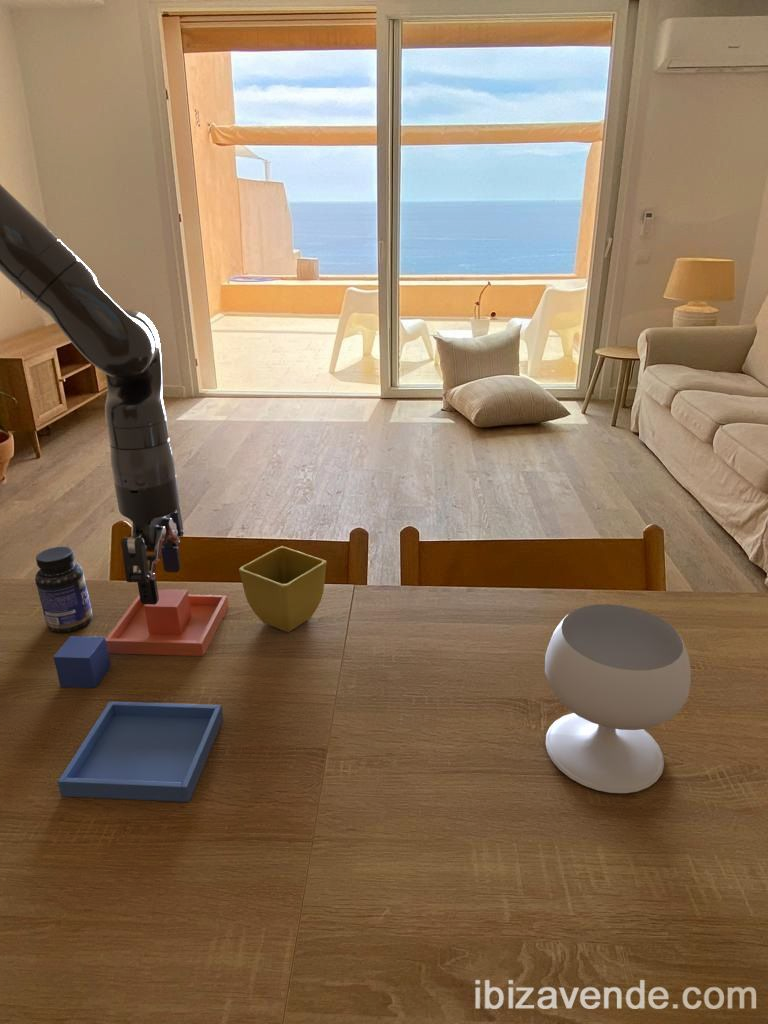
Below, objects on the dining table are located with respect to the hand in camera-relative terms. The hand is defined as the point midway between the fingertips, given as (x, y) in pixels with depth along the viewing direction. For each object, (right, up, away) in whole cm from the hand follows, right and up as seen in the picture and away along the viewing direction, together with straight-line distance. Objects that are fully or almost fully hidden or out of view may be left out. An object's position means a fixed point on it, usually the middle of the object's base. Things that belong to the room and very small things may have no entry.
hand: (161, 586), depth 94 cm
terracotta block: (0, -6, +3) cm, 6 cm away
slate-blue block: (-7, -11, -7) cm, 15 cm away
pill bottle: (-15, -6, +5) cm, 16 cm away
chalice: (+54, -16, -20) cm, 59 cm away
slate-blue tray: (+5, -16, -19) cm, 26 cm away
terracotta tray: (0, -6, +3) cm, 7 cm away
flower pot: (+16, -5, +5) cm, 18 cm away
